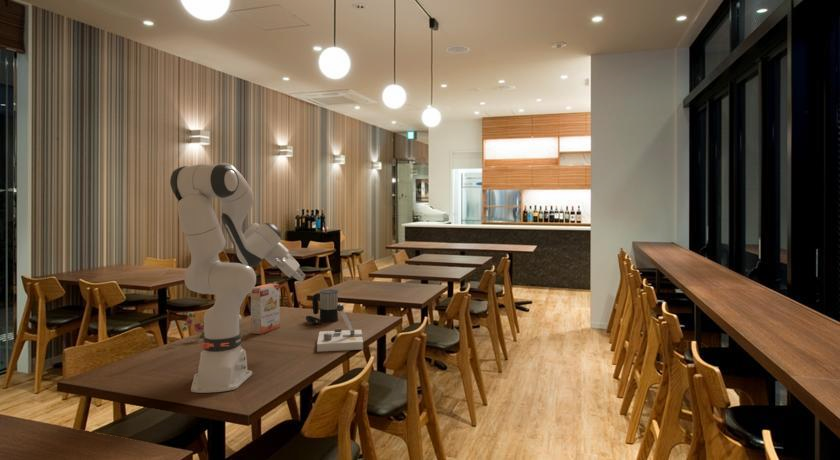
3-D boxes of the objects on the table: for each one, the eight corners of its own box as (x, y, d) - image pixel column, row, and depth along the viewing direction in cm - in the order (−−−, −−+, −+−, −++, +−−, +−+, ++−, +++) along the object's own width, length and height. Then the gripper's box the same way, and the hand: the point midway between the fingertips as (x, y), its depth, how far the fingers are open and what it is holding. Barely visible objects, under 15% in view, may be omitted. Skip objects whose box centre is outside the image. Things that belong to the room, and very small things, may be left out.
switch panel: (363, 349, 208) (362, 341, 207) (317, 351, 205) (316, 343, 205) (361, 336, 227) (361, 329, 227) (319, 338, 225) (319, 331, 225)
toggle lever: (350, 336, 215) (335, 307, 214) (350, 334, 218) (335, 305, 217) (356, 333, 215) (341, 303, 214) (356, 331, 218) (341, 302, 217)
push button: (331, 339, 210) (331, 335, 210) (323, 339, 210) (323, 335, 209) (331, 337, 213) (331, 333, 213) (323, 337, 213) (323, 333, 213)
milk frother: (340, 318, 262) (340, 289, 262) (332, 326, 247) (331, 295, 246) (313, 318, 264) (312, 289, 263) (303, 325, 248) (302, 294, 247)
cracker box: (261, 335, 232) (260, 288, 230) (250, 333, 234) (249, 287, 232) (281, 327, 245) (279, 283, 243) (270, 326, 247) (269, 282, 246)
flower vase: (241, 340, 251) (199, 344, 217) (220, 331, 254) (175, 334, 220) (250, 317, 252) (209, 316, 218) (229, 308, 255) (185, 307, 221)
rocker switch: (341, 332, 218) (341, 328, 218) (334, 332, 217) (334, 329, 218) (341, 331, 222) (341, 328, 222) (334, 331, 222) (334, 328, 222)
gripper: (280, 253, 201) (307, 277, 202) (286, 248, 221) (310, 270, 223) (269, 264, 200) (295, 289, 202) (276, 258, 220) (300, 281, 222)
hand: (303, 279), depth 213 cm, fingers open, 8 cm apart
